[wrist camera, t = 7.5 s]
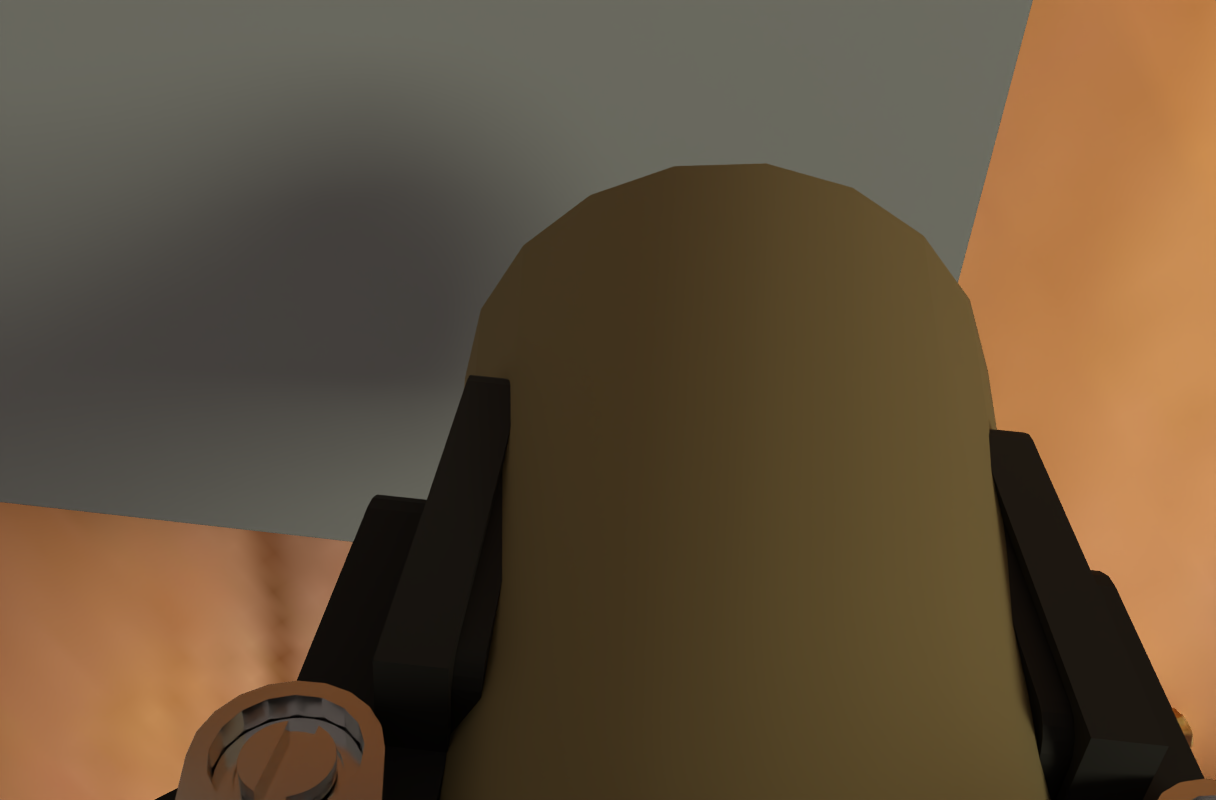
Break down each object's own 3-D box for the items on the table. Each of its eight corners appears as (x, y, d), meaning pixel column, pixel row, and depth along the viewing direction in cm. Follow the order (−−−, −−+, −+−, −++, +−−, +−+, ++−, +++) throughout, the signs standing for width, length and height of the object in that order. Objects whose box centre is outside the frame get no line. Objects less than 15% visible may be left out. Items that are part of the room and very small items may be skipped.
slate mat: (1109, -340, 15) (1123, -342, 15) (869, 581, 24) (873, 600, 23) (-356, -479, 16) (-392, -485, 15) (-84, 473, 24) (-102, 490, 24)
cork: (1099, 405, 13) (2084, 2169, 4) (722, 676, 16) (756, 2122, 6) (719, 38, 11) (810, 1711, 2) (363, 413, 14) (-334, 1909, 5)
